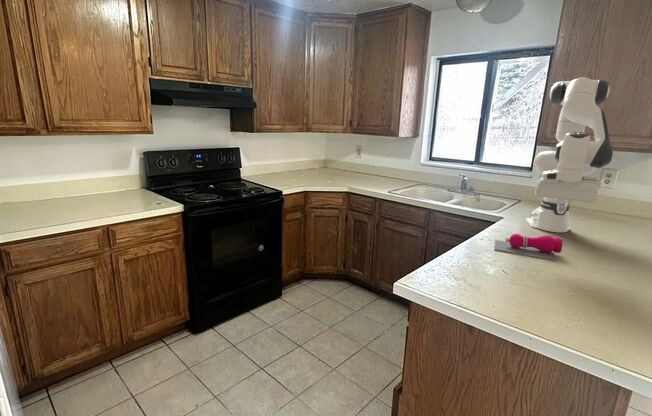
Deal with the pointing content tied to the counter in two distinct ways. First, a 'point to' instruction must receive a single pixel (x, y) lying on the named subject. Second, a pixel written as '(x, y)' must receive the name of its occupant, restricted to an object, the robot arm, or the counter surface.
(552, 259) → the mat
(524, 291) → the counter surface
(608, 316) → the counter surface
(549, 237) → the pepper mill
